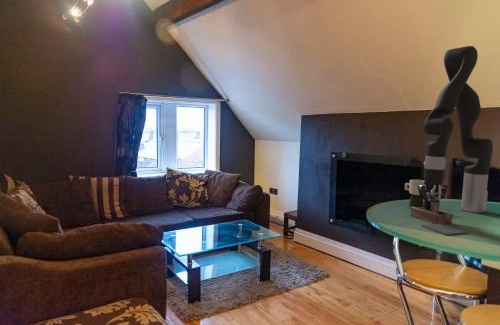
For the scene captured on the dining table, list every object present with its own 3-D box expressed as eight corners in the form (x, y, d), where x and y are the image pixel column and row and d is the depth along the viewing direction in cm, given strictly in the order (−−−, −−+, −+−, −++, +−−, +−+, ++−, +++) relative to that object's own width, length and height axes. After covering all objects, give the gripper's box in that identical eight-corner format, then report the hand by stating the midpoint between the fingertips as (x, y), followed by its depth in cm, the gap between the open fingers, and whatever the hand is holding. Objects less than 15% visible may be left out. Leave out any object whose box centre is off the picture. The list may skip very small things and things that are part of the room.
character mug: (430, 208, 162) (432, 180, 160) (428, 211, 156) (430, 182, 154) (404, 205, 168) (406, 178, 166) (402, 207, 162) (404, 180, 161)
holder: (425, 214, 149) (426, 205, 149) (451, 223, 137) (452, 213, 136) (410, 215, 146) (411, 206, 146) (435, 224, 134) (436, 214, 134)
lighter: (420, 216, 145) (422, 193, 144) (428, 216, 146) (430, 193, 145) (432, 222, 137) (434, 197, 136) (440, 222, 138) (442, 197, 137)
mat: (442, 224, 134) (442, 223, 134) (467, 233, 124) (468, 231, 124) (421, 226, 131) (421, 225, 131) (446, 235, 120) (446, 233, 120)
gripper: (440, 166, 145) (437, 206, 147) (413, 166, 141) (410, 208, 142) (456, 168, 138) (452, 210, 140) (428, 169, 134) (424, 212, 135)
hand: (431, 209), depth 141 cm, fingers closed on lighter, 4 cm apart
